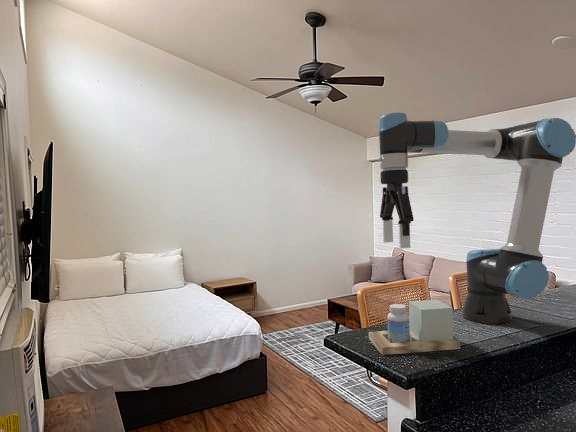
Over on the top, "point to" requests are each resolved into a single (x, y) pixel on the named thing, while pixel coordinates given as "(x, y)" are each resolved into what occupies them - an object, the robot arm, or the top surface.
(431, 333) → the block
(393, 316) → the pill bottle
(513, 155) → the robot arm
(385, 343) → the board
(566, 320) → the top surface
